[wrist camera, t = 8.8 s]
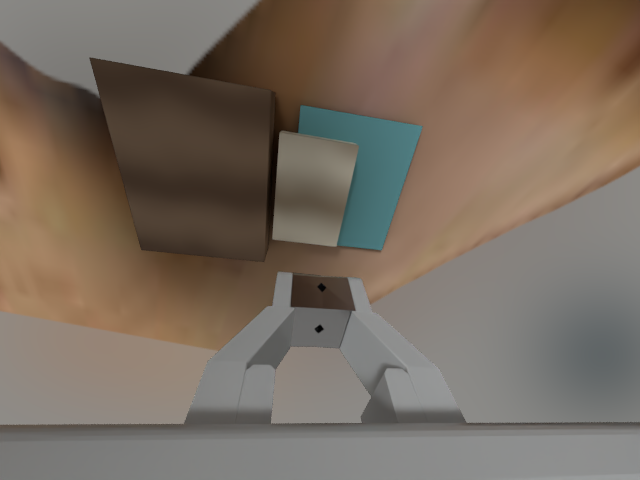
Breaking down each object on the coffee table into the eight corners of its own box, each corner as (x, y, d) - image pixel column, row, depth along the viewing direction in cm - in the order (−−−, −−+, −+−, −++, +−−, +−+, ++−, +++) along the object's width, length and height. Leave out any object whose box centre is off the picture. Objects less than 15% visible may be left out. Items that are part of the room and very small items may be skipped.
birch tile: (282, 130, 18) (279, 132, 16) (354, 143, 19) (359, 146, 17) (275, 229, 23) (272, 239, 21) (334, 236, 23) (336, 246, 21)
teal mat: (301, 105, 18) (300, 104, 17) (420, 126, 19) (422, 126, 19) (288, 238, 24) (288, 240, 23) (380, 248, 25) (381, 250, 24)
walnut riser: (119, 65, 16) (89, 57, 14) (275, 93, 17) (270, 90, 15) (157, 236, 23) (141, 250, 21) (268, 248, 24) (264, 261, 22)
